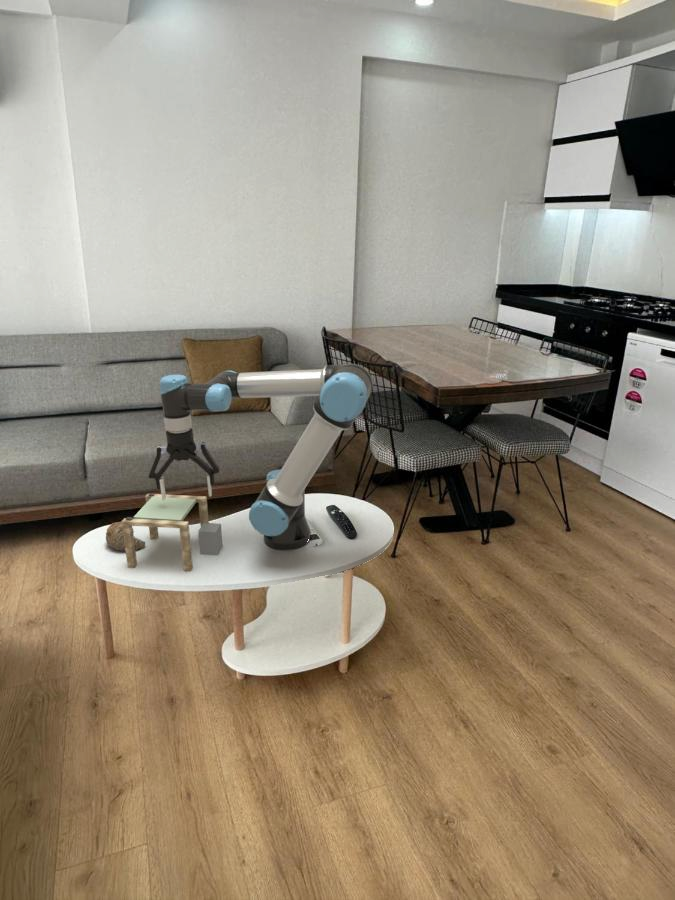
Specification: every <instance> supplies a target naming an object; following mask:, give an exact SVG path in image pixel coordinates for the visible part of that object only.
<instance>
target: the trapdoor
mask: <svg viewBox="0 0 675 900" xmlns="http://www.w3.org/2000/svg"><path fill="white" fill-rule="evenodd" d="M196 503H197V502H196V499H185V498H168V497H166V498H165V500H162V497H151V498H150V500H149V501H148V502H147V503H146V502H145V504H144V505H143V506H142V507H141V508H140V510H138V511H137V513H136V514H135V515H134V516H133V519H148V520H167V521H184V519H185V518H186V517H187V515H188V514H189V512H191V510H192V509H193V507H194V506H195V504H196Z"/></svg>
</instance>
